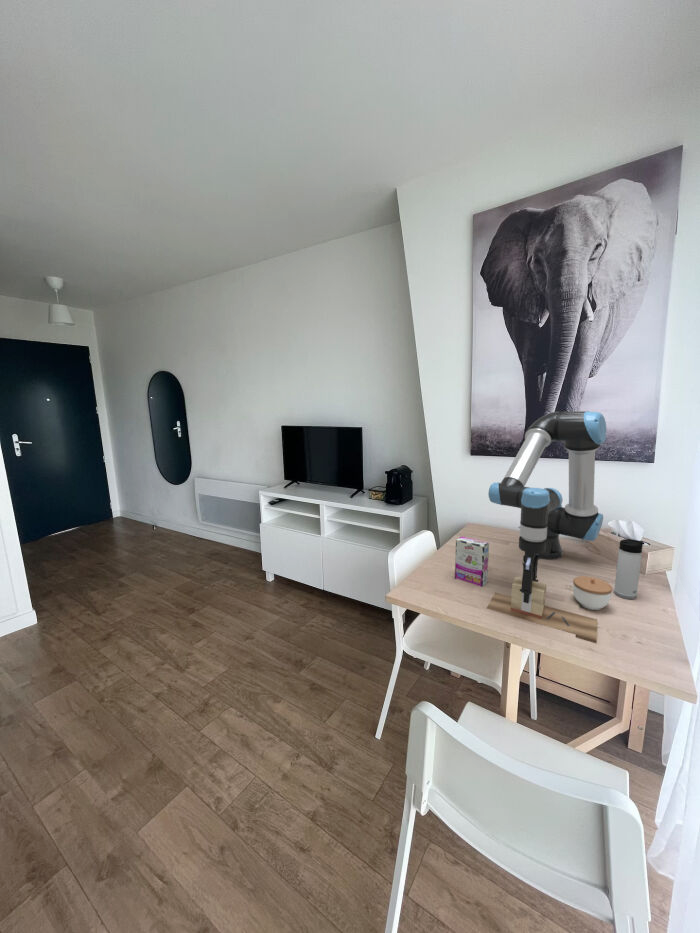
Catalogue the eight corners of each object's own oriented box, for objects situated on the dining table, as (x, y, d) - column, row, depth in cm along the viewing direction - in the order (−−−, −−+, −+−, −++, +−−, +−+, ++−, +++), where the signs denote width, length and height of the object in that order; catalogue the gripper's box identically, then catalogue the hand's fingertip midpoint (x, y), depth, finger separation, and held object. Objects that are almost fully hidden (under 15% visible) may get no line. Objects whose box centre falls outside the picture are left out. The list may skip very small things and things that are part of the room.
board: (495, 594, 128) (495, 592, 128) (596, 621, 112) (597, 619, 111) (486, 610, 119) (486, 608, 119) (596, 643, 102) (596, 640, 102)
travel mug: (640, 601, 122) (647, 545, 119) (617, 597, 125) (623, 542, 121) (633, 592, 128) (640, 538, 125) (611, 589, 130) (617, 536, 127)
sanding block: (514, 601, 122) (515, 576, 120) (544, 609, 117) (546, 584, 115) (510, 610, 117) (512, 584, 116) (541, 619, 112) (543, 592, 111)
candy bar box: (487, 583, 136) (489, 542, 133) (482, 588, 133) (484, 546, 130) (460, 574, 144) (461, 535, 141) (454, 579, 140) (455, 539, 137)
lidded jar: (574, 593, 128) (576, 568, 127) (611, 603, 121) (614, 577, 120) (568, 606, 120) (571, 580, 118) (608, 618, 113) (611, 590, 112)
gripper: (524, 526, 123) (520, 590, 127) (513, 545, 107) (508, 616, 111) (550, 531, 118) (544, 596, 122) (541, 550, 103) (536, 624, 107)
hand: (527, 605), depth 117 cm, fingers closed on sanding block, 6 cm apart
